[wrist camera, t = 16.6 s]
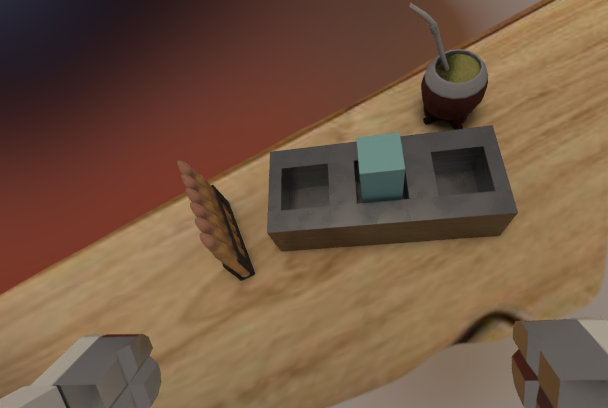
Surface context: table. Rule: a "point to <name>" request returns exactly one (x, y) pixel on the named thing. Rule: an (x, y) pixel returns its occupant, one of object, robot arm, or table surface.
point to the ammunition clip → (216, 223)
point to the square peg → (381, 167)
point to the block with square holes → (398, 213)
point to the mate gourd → (451, 81)
